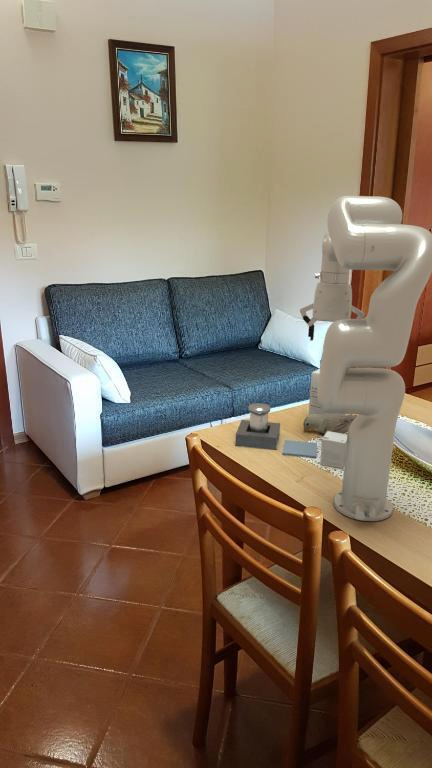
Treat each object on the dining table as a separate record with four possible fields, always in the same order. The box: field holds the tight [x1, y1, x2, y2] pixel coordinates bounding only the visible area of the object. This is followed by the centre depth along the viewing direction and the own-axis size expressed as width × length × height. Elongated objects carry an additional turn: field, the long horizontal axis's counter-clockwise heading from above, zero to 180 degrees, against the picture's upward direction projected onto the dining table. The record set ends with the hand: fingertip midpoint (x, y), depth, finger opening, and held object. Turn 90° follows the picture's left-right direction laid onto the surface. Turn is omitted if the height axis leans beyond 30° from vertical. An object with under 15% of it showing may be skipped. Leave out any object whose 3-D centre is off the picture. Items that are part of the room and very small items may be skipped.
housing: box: [234, 419, 281, 451], centre depth 158 cm, size 11×11×4 cm
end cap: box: [248, 402, 271, 433], centre depth 157 cm, size 6×6×10 cm
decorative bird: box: [303, 414, 358, 435], centre depth 162 cm, size 5×16×8 cm, turn 70°
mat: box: [281, 439, 318, 459], centre depth 152 cm, size 9×9×1 cm
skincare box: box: [319, 431, 348, 470], centre depth 144 cm, size 6×6×7 cm
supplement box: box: [308, 368, 346, 415], centre depth 175 cm, size 9×9×15 cm
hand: (329, 340), depth 155 cm, fingers open, 9 cm apart
